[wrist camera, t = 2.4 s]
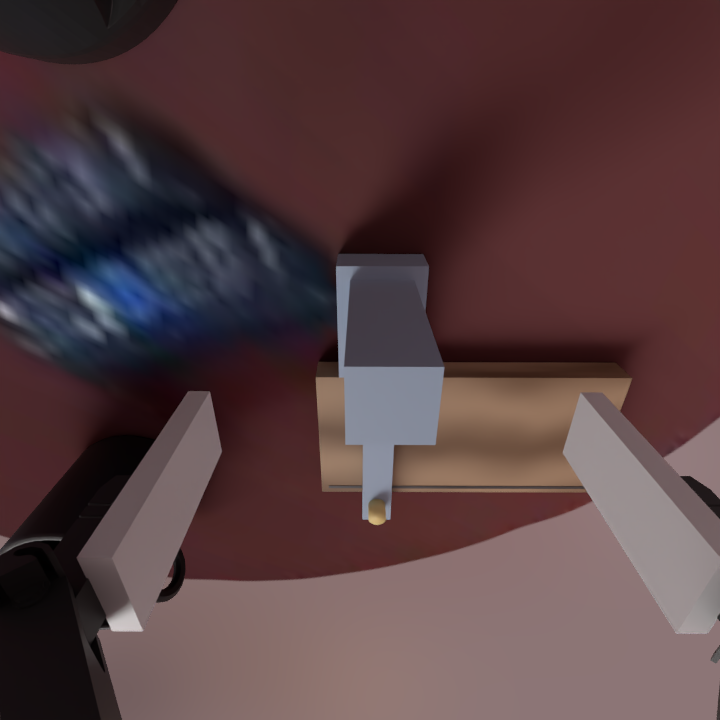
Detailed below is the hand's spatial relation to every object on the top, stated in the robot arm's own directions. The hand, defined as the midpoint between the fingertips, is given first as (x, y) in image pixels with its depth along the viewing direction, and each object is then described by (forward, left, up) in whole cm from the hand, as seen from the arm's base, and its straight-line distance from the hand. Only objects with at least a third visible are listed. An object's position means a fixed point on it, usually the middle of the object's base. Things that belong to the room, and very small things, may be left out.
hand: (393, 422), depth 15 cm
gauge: (+6, 0, -12) cm, 14 cm away
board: (+9, +6, -12) cm, 17 cm away
